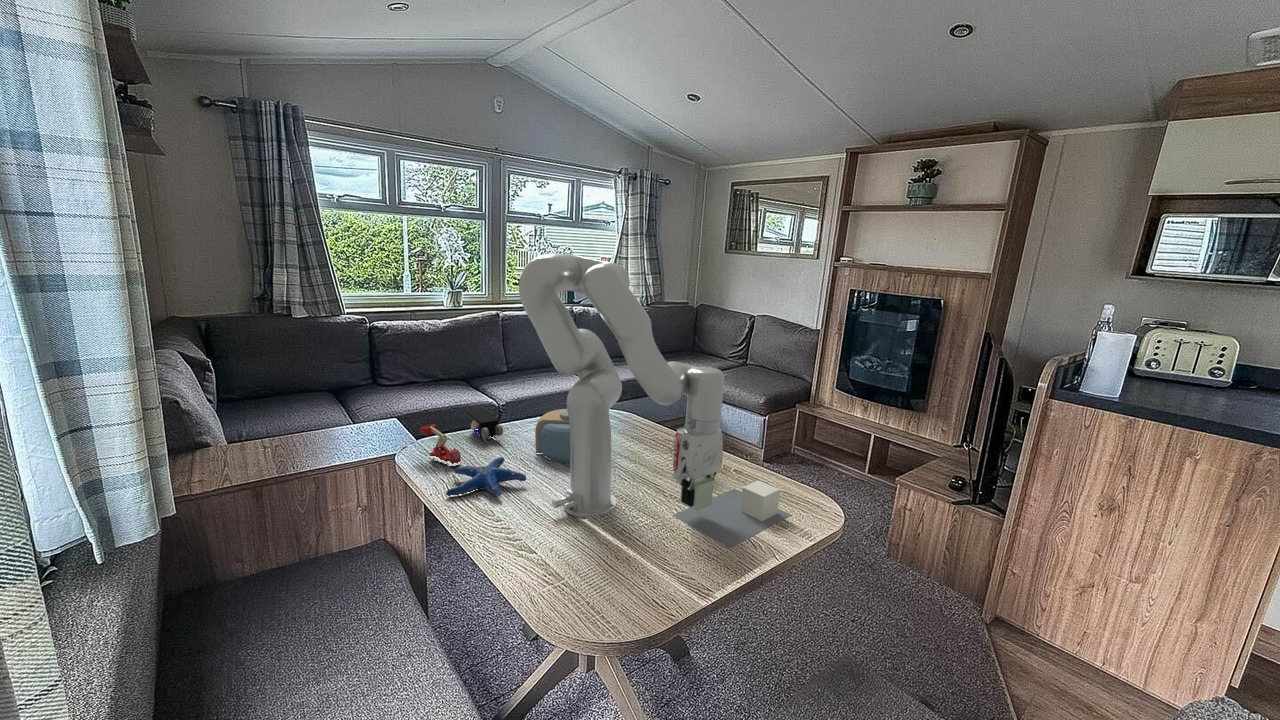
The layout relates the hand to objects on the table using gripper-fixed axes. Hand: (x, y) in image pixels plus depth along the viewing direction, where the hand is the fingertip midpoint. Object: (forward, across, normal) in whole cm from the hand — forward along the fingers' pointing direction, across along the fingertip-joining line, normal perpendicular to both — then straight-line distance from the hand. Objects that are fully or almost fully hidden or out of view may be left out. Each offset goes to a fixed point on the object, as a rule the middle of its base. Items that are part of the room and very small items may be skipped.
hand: (696, 499), depth 118 cm
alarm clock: (+7, +1, +52) cm, 53 cm away
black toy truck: (+8, -14, +78) cm, 80 cm away
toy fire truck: (+8, -32, +67) cm, 75 cm away
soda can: (+6, +18, +20) cm, 27 cm away
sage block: (+1, 0, 0) cm, 1 cm away
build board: (+5, +8, -5) cm, 10 cm away
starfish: (+7, -30, +45) cm, 55 cm away
